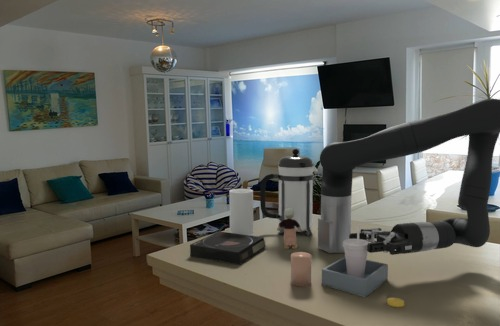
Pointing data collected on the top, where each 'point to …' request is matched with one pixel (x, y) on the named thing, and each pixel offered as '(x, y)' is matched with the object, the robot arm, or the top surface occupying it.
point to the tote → (340, 280)
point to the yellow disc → (395, 302)
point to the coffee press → (293, 190)
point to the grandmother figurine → (289, 229)
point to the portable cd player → (227, 247)
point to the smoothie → (355, 255)
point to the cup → (241, 211)
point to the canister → (301, 269)
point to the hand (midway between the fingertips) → (358, 242)
